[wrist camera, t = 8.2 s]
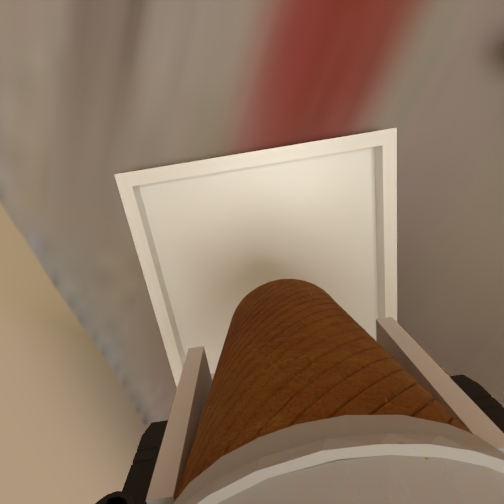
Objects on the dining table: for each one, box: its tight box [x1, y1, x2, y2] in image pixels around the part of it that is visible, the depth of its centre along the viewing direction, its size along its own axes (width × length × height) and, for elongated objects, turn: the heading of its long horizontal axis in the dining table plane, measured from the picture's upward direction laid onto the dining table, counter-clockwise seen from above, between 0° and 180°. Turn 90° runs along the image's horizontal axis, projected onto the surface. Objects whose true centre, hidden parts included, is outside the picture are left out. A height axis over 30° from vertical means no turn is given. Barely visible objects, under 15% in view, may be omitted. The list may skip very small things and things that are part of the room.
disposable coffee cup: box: [173, 279, 504, 504], centre depth 11 cm, size 10×10×12 cm
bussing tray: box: [114, 128, 397, 387], centre depth 24 cm, size 20×20×2 cm
